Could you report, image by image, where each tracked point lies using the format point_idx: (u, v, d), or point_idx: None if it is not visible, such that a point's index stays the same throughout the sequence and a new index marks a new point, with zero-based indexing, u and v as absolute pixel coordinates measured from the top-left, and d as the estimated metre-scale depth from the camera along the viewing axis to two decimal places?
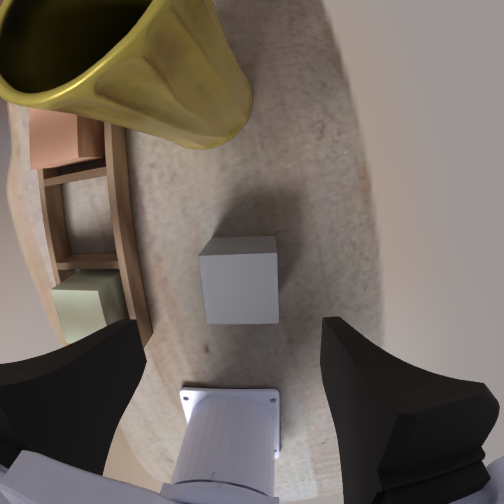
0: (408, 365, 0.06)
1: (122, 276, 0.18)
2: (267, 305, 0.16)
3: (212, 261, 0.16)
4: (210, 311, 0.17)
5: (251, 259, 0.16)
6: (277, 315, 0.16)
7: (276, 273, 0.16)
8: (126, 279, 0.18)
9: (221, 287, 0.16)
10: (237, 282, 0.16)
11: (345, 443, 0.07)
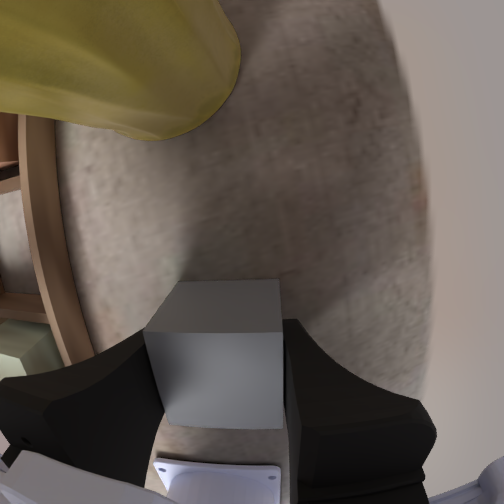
0: (347, 373, 0.06)
1: (55, 334, 0.11)
2: (264, 406, 0.09)
3: (166, 341, 0.08)
4: (172, 409, 0.09)
5: (235, 341, 0.08)
6: (280, 419, 0.09)
7: (280, 363, 0.08)
8: (60, 339, 0.11)
9: (186, 380, 0.09)
10: (212, 376, 0.09)
11: (290, 448, 0.07)
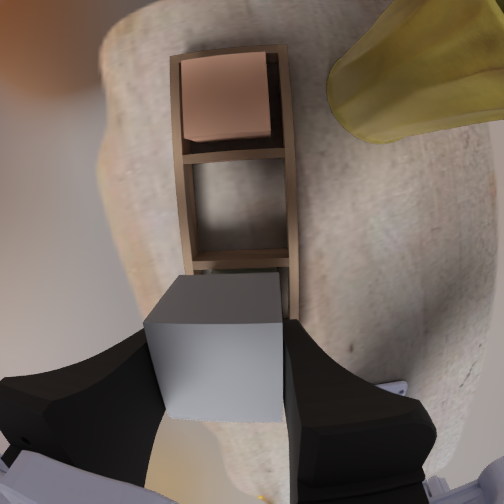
0: (347, 373, 0.06)
1: (291, 275, 0.17)
2: (264, 399, 0.09)
3: (166, 333, 0.08)
4: (172, 402, 0.09)
5: (236, 333, 0.08)
6: (280, 412, 0.09)
7: (280, 355, 0.08)
8: (296, 278, 0.17)
9: (186, 372, 0.09)
10: (212, 367, 0.09)
11: (290, 448, 0.07)
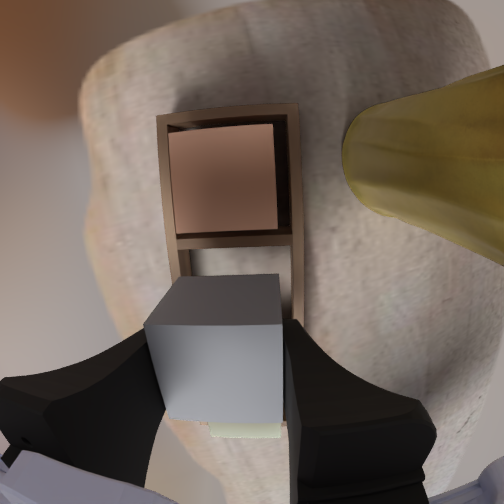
0: (347, 373, 0.06)
1: None
2: (264, 400, 0.09)
3: (167, 334, 0.09)
4: (172, 403, 0.09)
5: (236, 334, 0.08)
6: (280, 413, 0.09)
7: (280, 356, 0.09)
8: None
9: (187, 374, 0.09)
10: (212, 369, 0.09)
11: (290, 448, 0.07)
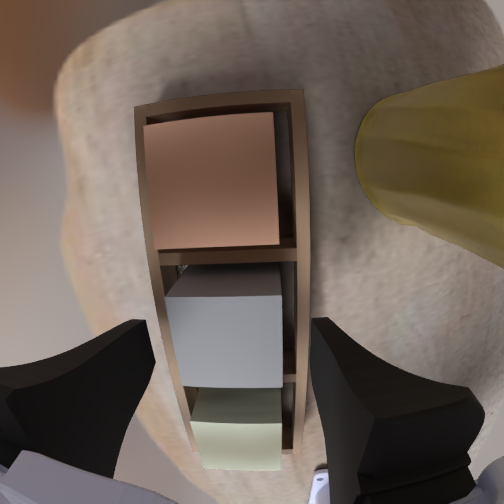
0: (393, 367, 0.06)
1: (298, 390, 0.13)
2: (266, 365, 0.11)
3: (185, 305, 0.10)
4: (186, 370, 0.11)
5: (243, 304, 0.10)
6: (280, 378, 0.11)
7: (280, 324, 0.10)
8: (303, 393, 0.13)
9: (200, 341, 0.11)
10: (223, 336, 0.11)
11: (331, 445, 0.07)
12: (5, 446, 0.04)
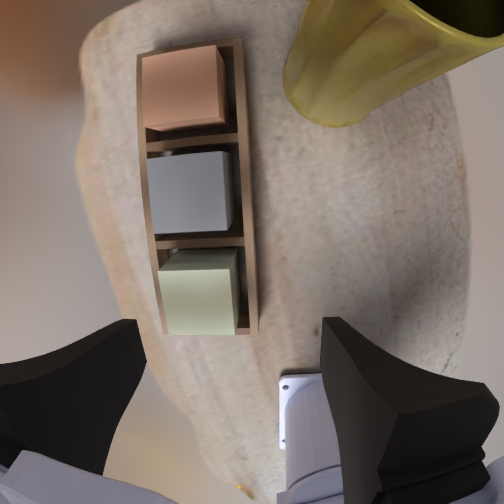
0: (408, 365, 0.06)
1: (247, 254, 0.18)
2: (214, 208, 0.15)
3: (159, 163, 0.15)
4: (157, 218, 0.16)
5: (197, 158, 0.15)
6: (225, 220, 0.16)
7: (222, 172, 0.15)
8: (252, 257, 0.18)
9: (168, 190, 0.15)
10: (183, 184, 0.15)
11: (345, 443, 0.07)
12: None
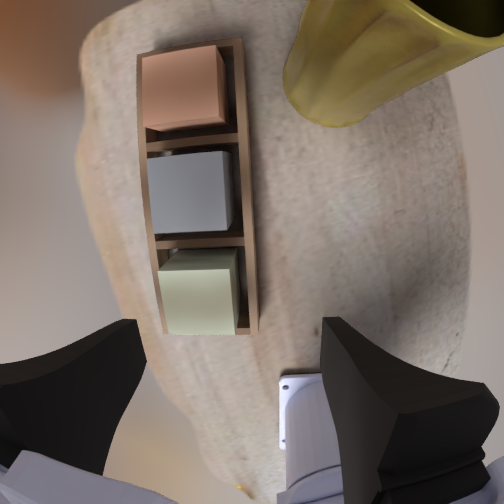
0: (408, 365, 0.06)
1: (247, 254, 0.18)
2: (214, 208, 0.15)
3: (159, 163, 0.15)
4: (157, 218, 0.16)
5: (197, 158, 0.15)
6: (225, 220, 0.16)
7: (222, 172, 0.15)
8: (252, 257, 0.18)
9: (168, 190, 0.15)
10: (183, 184, 0.15)
11: (345, 443, 0.07)
12: None
